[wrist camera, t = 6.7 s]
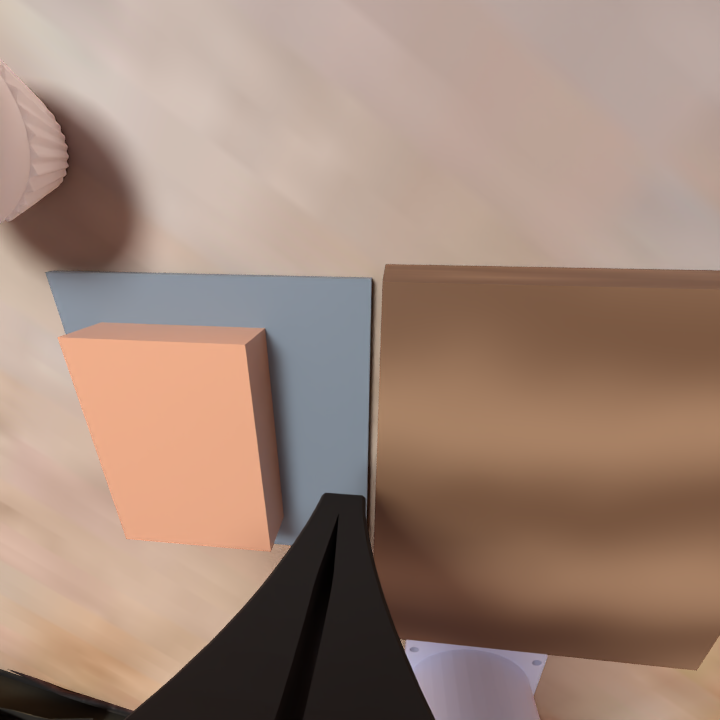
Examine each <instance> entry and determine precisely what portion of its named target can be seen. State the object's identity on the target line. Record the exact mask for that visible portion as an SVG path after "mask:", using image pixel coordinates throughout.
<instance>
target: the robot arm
mask: <svg viewBox="0 0 720 720" xmlns="http://www.w3.org/2000/svg"><path fill="white" fill-rule="evenodd" d="M546 660H547V654H537V653H528V652H518V651H509V650H499V649H490V648H481V647H471V646H462V645H452V644H443V643H433V642H424V641H415V640H406V642H405V651H404V648H403V646H402V643H401V641H400V638H399V636H398V633H397V630H396V628H395V625H394V622H393V620H392V617H391V614H390V611H389V608H388V605H387V602H386V599H385V596H384V593H383V590H382V587H381V583H380V580H379V576H378V573H377V569H376V566H375V562H374V558H373V553H372V549H371V544H370V540H369V534H368V528H367V521H366V498H365V497H364V496H363V495H351V494H337V493H324V494H323V495H322V496H321V498H320V500H319V502H318V504H317V506H316V508H315V510H314V511H313V513H312V515H311V517H310V518H309V520H308V521H307V523H306V525H305V526H304V528H303V529H302V531H301V532H300V534H299V535H298V537H297V538H296V540H295V541H294V543H293V544H292V546H291V547H290V549H289V550H288V552H287V553H286V554H285V556H284V557H283V558H282V560H281V561H280V562H279V564H278V565H277V566H276V568H275V569H274V571H273V572H272V573H271V574H270V576H269V577H268V578H267V580H266V581H265V582H264V583H263V585H262V586H261V587H260V588H259V589H258V591H257V592H256V593H255V594H254V595H253V596H252V598H251V599H250V600H249V601H248V602H247V603H246V605H245V606H244V607H243V608H242V609H241V610H240V611H239V612H238V613H237V614H236V615H235V617H234V618H233V619H232V620H231V621H230V622H229V623H228V624H227V625H226V626H225V627H224V628H223V629H222V630H221V631H220V632H219V634H218V635H217V636H216V637H215V638H214V639H213V640H212V641H211V642H210V643H209V644H208V645H207V646H205V647H204V648H203V649H202V650H201V651H200V652H199V653H198V654H197V655H196V656H195V657H194V658H193V659H192V660H191V661H190V662H189V663H188V664H186V665H185V666H184V667H183V668H182V669H181V670H180V671H179V672H178V673H177V674H176V675H175V676H174V677H173V678H172V679H170V680H169V681H168V682H167V683H166V684H165V685H164V686H163V687H161V688H160V689H159V690H158V691H157V692H156V693H154V694H153V695H152V696H151V697H150V698H148V699H147V700H146V701H145V702H144V703H143V704H141V705H140V706H139V707H138V708H137V709H136V710H134V711H133V712H132V713H131V714H130V715H128V716H127V717H126V718H125V719H124V720H540V717H539V714H538V710H537V707H536V704H535V700H534V697H533V696H534V693H535V691H536V688H537V685H538V682H539V679H540V677H541V674H542V671H543V668H544V665H545V663H546Z"/></svg>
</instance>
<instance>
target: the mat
mask: <svg viewBox="0 0 720 720" xmlns="http://www.w3.org/2000/svg"><path fill="white" fill-rule="evenodd" d="M45 273H46V276H47V279H48V282H49V285H50V288H51V291H52V294H53V297H54V300H55V303H56V306H57V309H58V312H59V315H60V318H61V321H62V324H63V327H64V330H65V333H66V334H69V333H72V332H75V331H78V330H80V329H83V328H86V327H89V326H92V325H95V324H98V323H101V322H106V323H135V324H163V325H192V326H220V327H248V328H265V333H266V343H267V353H268V363H269V373H270V383H271V393H272V403H273V413H274V423H275V433H276V443H277V453H278V463H279V473H280V483H281V493H282V503H283V513H284V518H283V520H282V523H281V526H280V528H279V531H278V534H277V537H276V539H275V542H274V544H283V545H292V544H293V543H294V541H295V540H296V538H297V537H298V535H299V534H300V532H301V531H302V529H303V528H304V526H305V525H306V523H307V521H308V520H309V518H310V517H311V515H312V513H313V511H314V510H315V508H316V506H317V504H318V502H319V500H320V498H321V496H322V495H323V494H324V493H337V494H351V495H363V496H364V497H365V498H366V521H367V490H368V443H369V396H370V349H371V301H372V278H363V277H318V276H273V275H227V274H182V273H137V272H92V271H49V272H45Z"/></svg>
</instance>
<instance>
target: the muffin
mask: <svg viewBox="0 0 720 720" xmlns="http://www.w3.org/2000/svg"><path fill="white" fill-rule="evenodd" d="M67 148H68V146H67V145H66V143H65V135H63V134H62V133H61V126H60V125H59V124H58V123H57V122H56V120H55V116H54V115H53V114H52V113H51V112H50V111H49V110H48V109H47V108H46V105H45V104H44V103H43V102H42V101H41V100H40V99H39V98H38V97H37V96H36V95H35V94H34V93H33V92H32V91H31V90H30V89H29V88H28V87H27V86H26V84H25V83H24V82H23V81H22V80H21V79H20V78H19V77H18V76H17V75H16V74H15V73H14V72H13V71H12V70H11V69H10V68H9V67H8V66H7V65H6V64H5V63H4V62H3V61H2V60H1V59H0V224H1V223H2V222H4V221H5V220H6V221H8V222H9V221H12V220H13V219H14V218H16V217H17V216H19V215H20V214H21V213H23V212H24V211H26V210H27V209H29V208H30V207H31V206H33V205H34V204H36V203H37V202H38V201H40V200H41V199H42V198H43V197H45V196H46V195H47V194H49V193H50V192H51V191H53V190H54V189H56V188H57V187H58V186H59V185H60V183H62V182H63V177H64V176H65V175H67V174H66V168H67V167H68V166H69V165H68V163H67V159H68V158H69V155H68V154H67Z"/></svg>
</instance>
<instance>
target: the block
mask: <svg viewBox="0 0 720 720" xmlns="http://www.w3.org/2000/svg"><path fill="white" fill-rule="evenodd" d="M58 340H59V343H60V346H61V349H62V352H63V355H64V358H65V360H66V363H67V366H68V369H69V372H70V375H71V378H72V381H73V384H74V387H75V390H76V393H77V396H78V399H79V402H80V404H81V407H82V410H83V413H84V416H85V419H86V422H87V425H88V428H89V431H90V434H91V437H92V440H93V443H94V445H95V448H96V451H97V454H98V457H99V460H100V463H101V466H102V469H103V472H104V475H105V478H106V481H107V484H108V486H109V489H110V492H111V495H112V498H113V501H114V504H115V507H116V510H117V513H118V516H119V519H120V522H121V525H122V528H123V530H124V533H125V536H126V539H134V540H145V541H157V542H168V543H179V544H190V545H202V546H213V547H224V548H235V549H247V550H258V551H269V552H271V550H272V547H273V545H274V542H275V539H276V537H277V534H278V531H279V528H280V526H281V523H282V520H283V518H284V513H283V503H282V493H281V483H280V473H279V463H278V453H277V443H276V433H275V423H274V413H273V403H272V393H271V383H270V373H269V363H268V353H267V343H266V333H265V328H248V327H220V326H192V325H163V324H135V323H106V322H101V323H98V324H95V325H92V326H89V327H86V328H83V329H80V330H78V331H75V332H72V333H69V334H66V335H63V336H60V337H58Z"/></svg>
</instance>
